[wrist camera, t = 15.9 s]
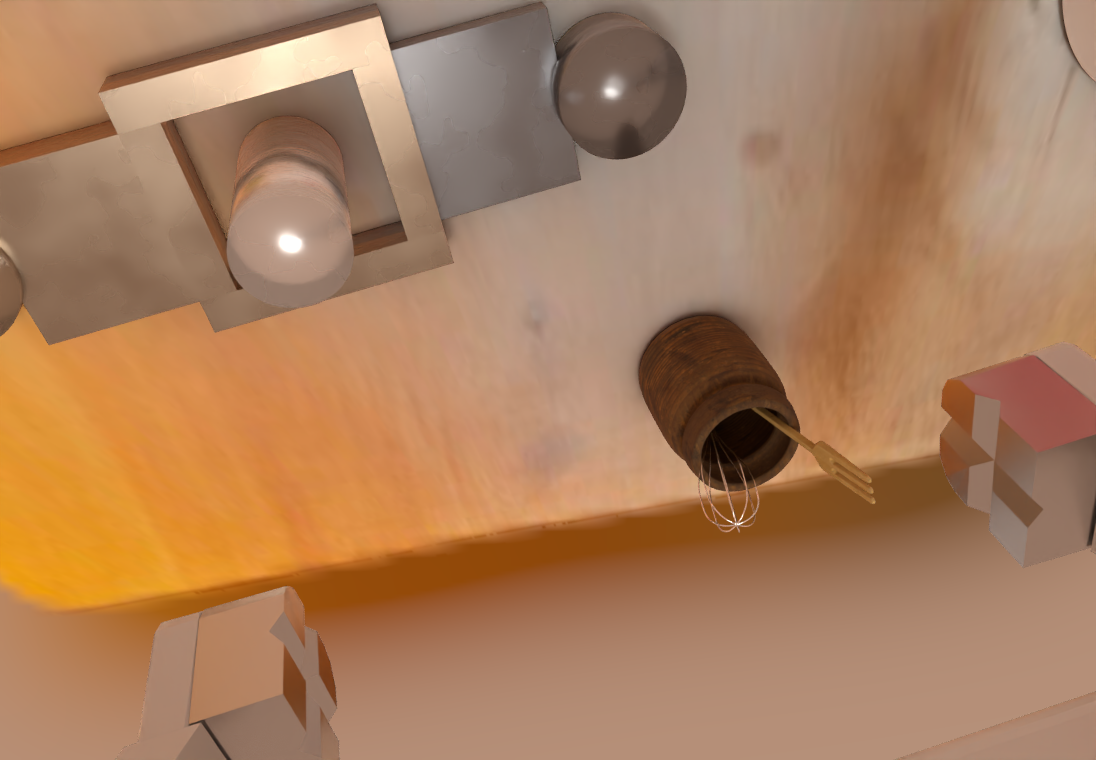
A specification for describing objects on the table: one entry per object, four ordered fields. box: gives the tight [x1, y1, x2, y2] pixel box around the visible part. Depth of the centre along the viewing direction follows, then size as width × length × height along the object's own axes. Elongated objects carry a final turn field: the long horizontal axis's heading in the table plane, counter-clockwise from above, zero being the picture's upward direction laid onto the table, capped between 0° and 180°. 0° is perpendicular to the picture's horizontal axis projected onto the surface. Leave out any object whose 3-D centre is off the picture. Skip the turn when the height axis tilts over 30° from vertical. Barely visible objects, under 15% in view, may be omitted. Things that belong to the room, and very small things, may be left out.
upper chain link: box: [0, 10, 454, 345], centre depth 36 cm, size 20×10×2 cm, turn 102°
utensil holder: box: [639, 316, 876, 532], centre depth 43 cm, size 6×6×12 cm
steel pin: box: [227, 116, 354, 308], centre depth 35 cm, size 4×4×8 cm
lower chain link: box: [103, 2, 687, 254], centre depth 37 cm, size 20×10×2 cm, turn 102°
